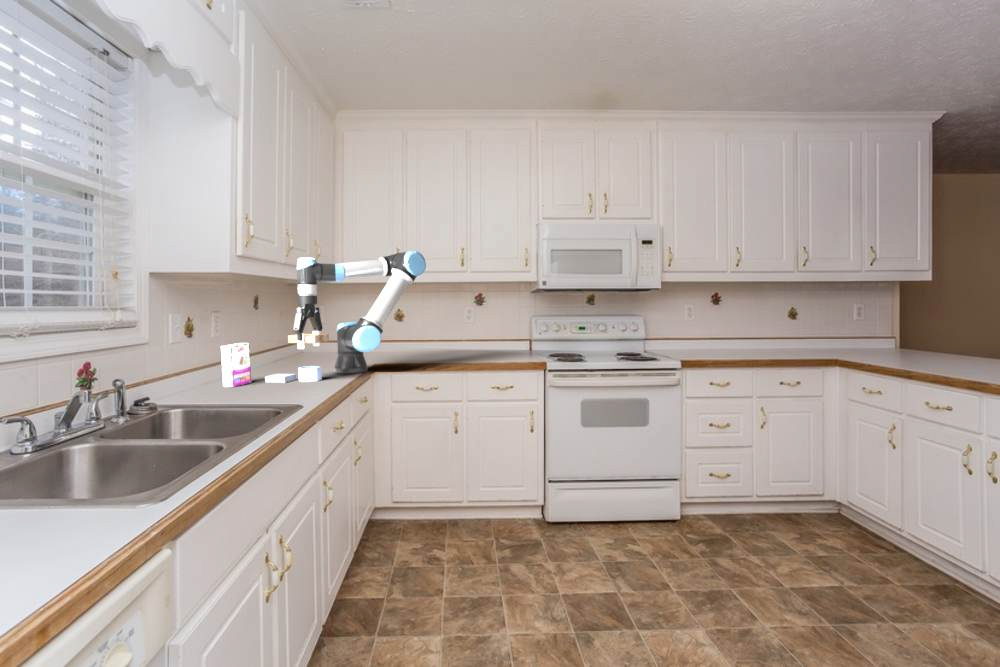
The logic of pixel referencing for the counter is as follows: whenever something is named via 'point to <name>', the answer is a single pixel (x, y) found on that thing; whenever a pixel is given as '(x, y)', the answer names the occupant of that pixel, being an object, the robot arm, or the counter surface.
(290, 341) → the lid board
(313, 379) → the bowl
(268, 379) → the block
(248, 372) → the candy bar box
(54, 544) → the counter surface
